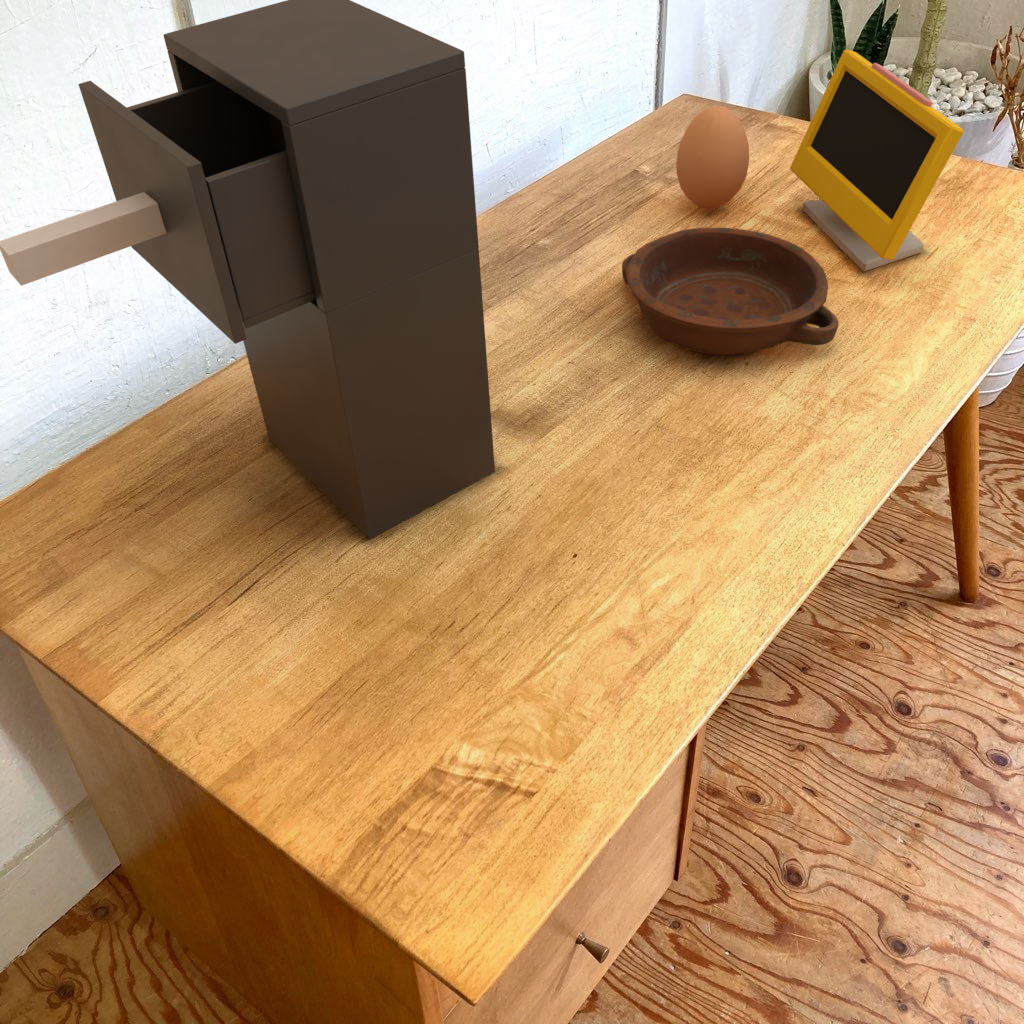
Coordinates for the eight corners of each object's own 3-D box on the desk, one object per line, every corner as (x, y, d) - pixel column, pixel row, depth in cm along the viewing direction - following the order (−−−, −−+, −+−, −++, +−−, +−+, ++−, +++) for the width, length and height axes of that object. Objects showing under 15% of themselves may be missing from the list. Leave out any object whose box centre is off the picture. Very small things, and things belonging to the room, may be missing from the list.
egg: (757, 201, 115) (769, 103, 108) (719, 229, 111) (729, 129, 104) (698, 183, 119) (706, 87, 112) (659, 209, 115) (665, 111, 108)
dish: (788, 405, 89) (797, 356, 86) (571, 328, 99) (571, 281, 96) (869, 309, 99) (879, 262, 96) (664, 247, 109) (667, 203, 106)
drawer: (92, 406, 59) (19, 223, 52) (1, 295, 68) (-72, 126, 61) (397, 277, 68) (374, 103, 60) (281, 194, 77) (248, 35, 70)
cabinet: (369, 539, 79) (285, 108, 57) (268, 438, 89) (162, 33, 66) (495, 471, 85) (464, 50, 62) (387, 382, 94) (326, -12, 71)
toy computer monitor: (784, 197, 116) (806, 51, 105) (850, 186, 117) (878, 40, 106) (874, 289, 101) (909, 130, 91) (947, 276, 103) (991, 117, 92)
